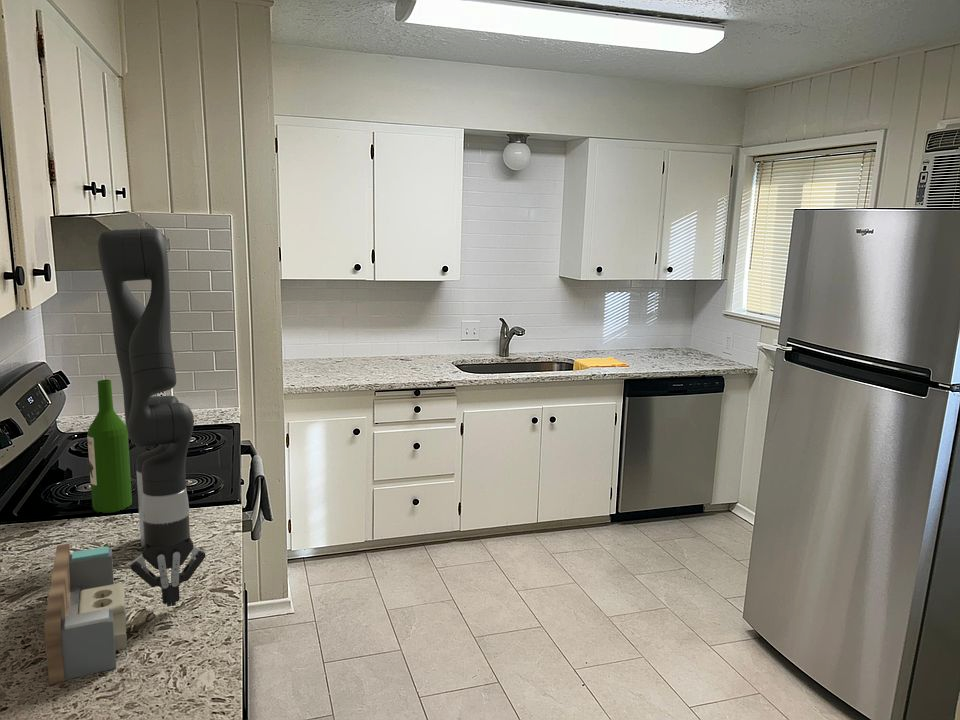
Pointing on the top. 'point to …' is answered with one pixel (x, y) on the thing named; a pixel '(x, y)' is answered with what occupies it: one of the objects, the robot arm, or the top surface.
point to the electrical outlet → (109, 599)
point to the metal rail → (74, 600)
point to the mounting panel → (57, 613)
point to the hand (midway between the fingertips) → (171, 604)
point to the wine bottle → (109, 456)
